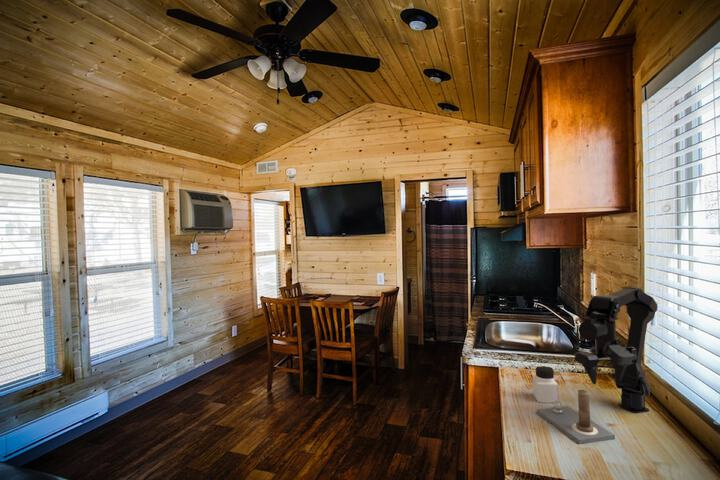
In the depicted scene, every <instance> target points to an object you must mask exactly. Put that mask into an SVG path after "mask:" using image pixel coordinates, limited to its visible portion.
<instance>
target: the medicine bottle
mask: <svg viewBox="0 0 720 480" xmlns="http://www.w3.org/2000/svg"><path fill="white" fill-rule="evenodd" d="M554 371H555V370H554V368H552V367H551V366H549V365H538V366H536V367H535V376H532V393H533V396H534V398H535V399H536V401H537V403H541V404H542V403H545V404H546V403H547V404H554V401H559V384H558V382H556V380H555V373H554Z"/></svg>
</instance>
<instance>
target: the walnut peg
mask: <svg viewBox="0 0 720 480" xmlns="http://www.w3.org/2000/svg"><path fill="white" fill-rule="evenodd" d="M577 400H578V401H577V403H578V413H579V422H577V423H576V428H577V429H578V430H580V431H583V432H593V426H592V425H591V424H590V420H591V410H590V409H591V408H590V407H591V405H590V402H591V401H590V391H588V390H585V389H578V390H577Z"/></svg>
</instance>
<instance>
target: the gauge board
mask: <svg viewBox="0 0 720 480" xmlns="http://www.w3.org/2000/svg"><path fill="white" fill-rule="evenodd" d="M553 408H555V406H554V407H545V408H539V409H536V414H537V415H538V416H540V417H541V418H543V419H544V418H545V419H544V420H546V421H547V420H548V421H549V423H550V424H551V423H552V424H551V425H552V426H554V427H555V428H556V429H558V430H559V429H560V430H559V431H561V432H562V433H564V434H565V435H567V436H568V437H569V438H571V439H572V440H573V441H574V442H576V443H577V444H579V445H583V444H591V443H597V442H603V441H610V440H615V439H616V434H615V433H612V432H611V431H609V430H608V429H606V428H604V427H603V426H601V425H600V424H598V423H596V422H595V421H592V420H591V419H590V424H591V425H592V426H593V432H583V431H580V430H578V429H577V428H576V423H577V422H579V411H576V409H574V408H572V407H570V406H569V405H561V409H562V410H563V413H562V414H558V413H555V412H553ZM548 421H547V422H548Z"/></svg>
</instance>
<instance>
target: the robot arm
mask: <svg viewBox="0 0 720 480" xmlns="http://www.w3.org/2000/svg"><path fill="white" fill-rule="evenodd" d="M623 306H625V307H626V313H627V315H628V317H629V320H630V324H629V330H628V335H627V341H626V347H625V346H622V345H621V342H620V339H618V338H617V334H616V333H617V332H616V331H617V330H616V327H617V326H616V321H618V320H619V318H618V316H617V315H618V313H620V311H621V308H622V307H623ZM657 311H658V302H656V300H655V299H654V297H652V296H651V295H650V294H647V293H646V292H644V291H643V290H642V289H641V288H639V287H635V286H625V287H622V289H619V290H618V291H615V292H613V293H610V294H606V295H605V294H603V295H602V294H600V295H599V294H598V295H593V296H592V297H591V299H590V300H589V303H588V306H587V308H586V311H585V315H584V317H585V318H584V322H581V324H580V325H579V326H578V334H579V335H580V337H582V338H583V340H584V339H585V341H595V342H594V343H595V344H594V345H595V346H594V348H592V352H593V353H591V352H589V351H587V350H586V351H577V352H576V353H574V361H576V362H578V363H579V364H581V366H582V367H583V369H584V370H585V371H586V373H587V376H588V378H589V380H590V382H591V383H592V384H593V385H597V370H598V369H599V368H600V365H598V364H599V362H600V361H604V360H612V364H613V368H614V369H613V370H614V375H613V377H614V382H615V383H614V384H615V387H616V389H619V390H621V394H620V398H621V399H620V402H619V403H618V404H617V405H618V406H619V407H622V408H623V409H625V410H627V411H629V412H631V413H634V414H637V413H642V412H643V411H644V412H649V411H650V408H647V407H646V398H645V397H646V396H647V397H648V396H650V393H651V387H652V386H651V385H650V384H649V382H648V380H647V379H646V372H645V370H644V368H643V366H642V361H643V354H644V347H645V341H646V334H647V328H648V324H649V323H650V322H651V321H653V319H654V318H655V315H656V312H657ZM644 412H643V413H644Z"/></svg>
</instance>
